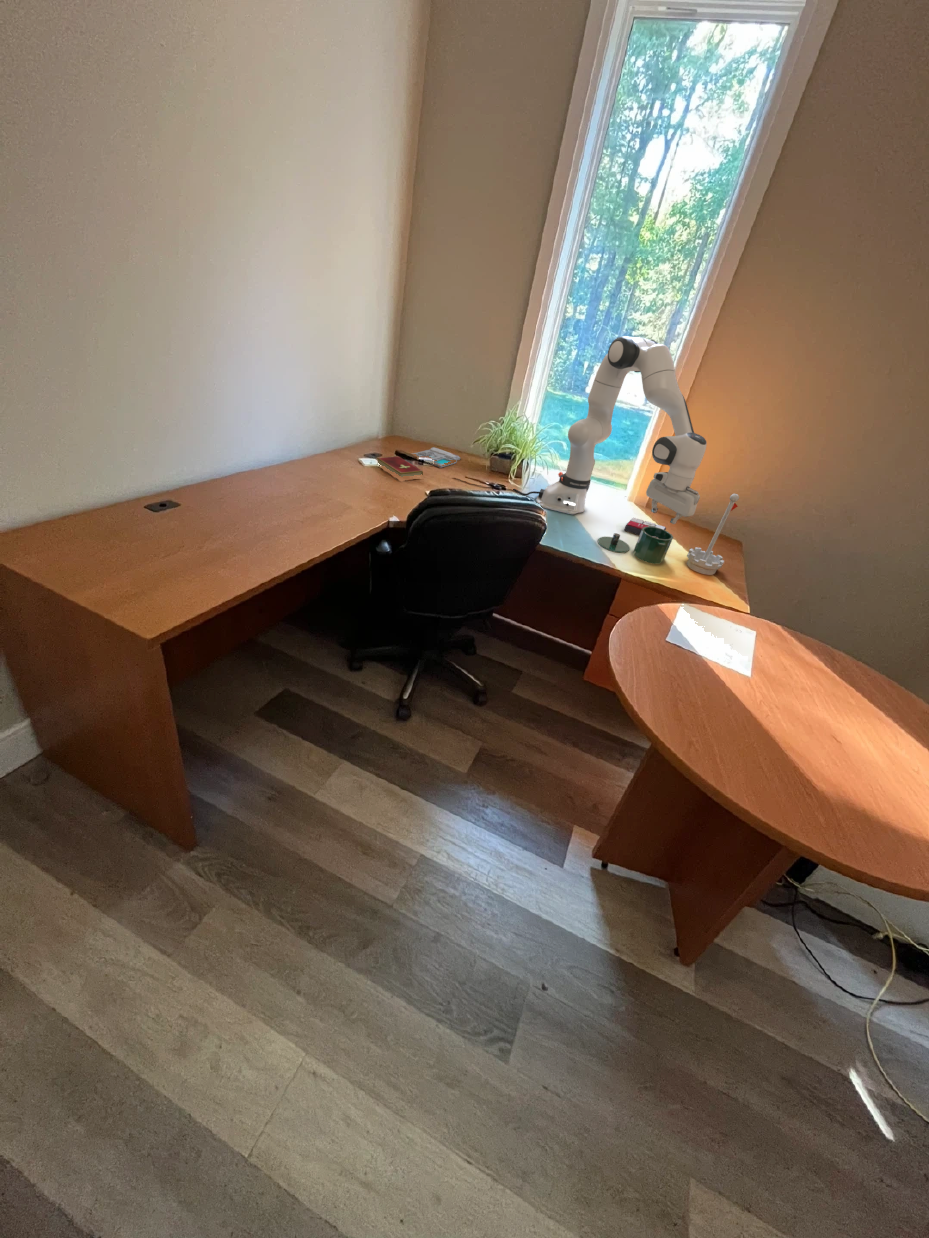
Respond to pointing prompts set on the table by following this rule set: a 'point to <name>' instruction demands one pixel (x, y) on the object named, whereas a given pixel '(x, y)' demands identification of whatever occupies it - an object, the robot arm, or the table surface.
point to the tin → (652, 544)
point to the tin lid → (613, 543)
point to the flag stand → (710, 548)
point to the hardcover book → (399, 466)
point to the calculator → (639, 526)
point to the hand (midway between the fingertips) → (662, 517)
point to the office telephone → (439, 456)
